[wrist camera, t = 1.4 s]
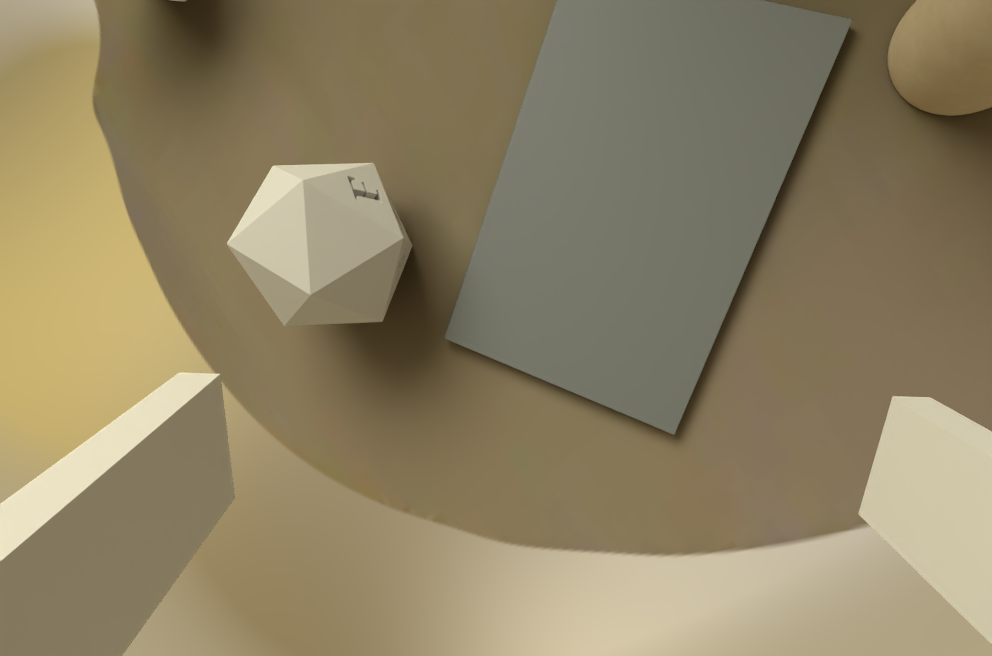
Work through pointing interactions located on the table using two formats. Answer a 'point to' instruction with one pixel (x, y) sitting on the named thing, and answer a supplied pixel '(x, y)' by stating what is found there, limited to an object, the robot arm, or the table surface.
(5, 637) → the robot arm
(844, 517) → the table surface
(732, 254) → the mat
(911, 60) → the candle
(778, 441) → the table surface
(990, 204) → the table surface
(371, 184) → the die
